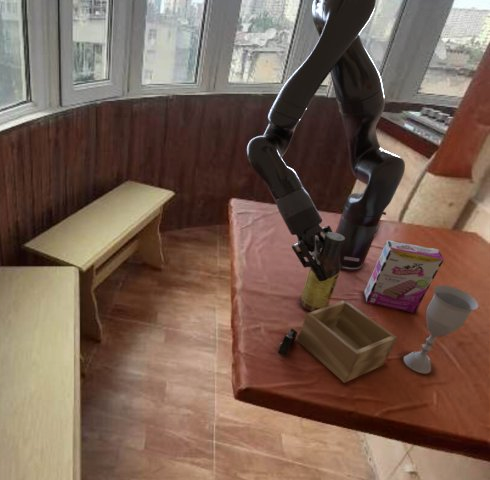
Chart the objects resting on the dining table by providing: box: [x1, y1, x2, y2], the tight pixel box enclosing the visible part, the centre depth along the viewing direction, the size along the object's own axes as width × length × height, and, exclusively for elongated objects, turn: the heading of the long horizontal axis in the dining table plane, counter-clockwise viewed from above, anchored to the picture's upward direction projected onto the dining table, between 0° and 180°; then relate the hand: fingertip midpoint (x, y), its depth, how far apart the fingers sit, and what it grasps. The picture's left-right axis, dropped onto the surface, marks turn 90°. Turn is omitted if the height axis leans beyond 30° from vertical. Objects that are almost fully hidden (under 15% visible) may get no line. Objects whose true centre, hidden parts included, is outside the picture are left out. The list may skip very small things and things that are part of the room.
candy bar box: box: [363, 239, 445, 314], centre depth 101 cm, size 11×5×16 cm, turn 71°
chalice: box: [403, 284, 479, 375], centre depth 83 cm, size 7×7×18 cm
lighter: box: [277, 328, 299, 357], centre depth 89 cm, size 8×2×5 cm
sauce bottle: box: [300, 231, 345, 312], centre depth 98 cm, size 7×6×20 cm
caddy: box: [297, 300, 398, 384], centre depth 87 cm, size 12×13×8 cm
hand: (331, 274), depth 97 cm, fingers closed on sauce bottle, 6 cm apart
